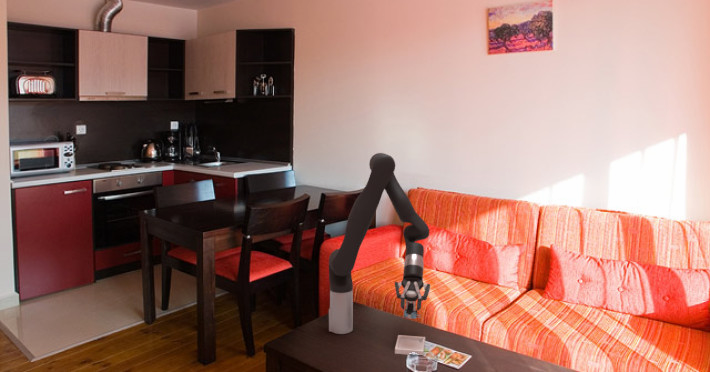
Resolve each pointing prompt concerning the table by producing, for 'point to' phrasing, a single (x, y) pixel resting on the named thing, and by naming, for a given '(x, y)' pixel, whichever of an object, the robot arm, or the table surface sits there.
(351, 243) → the robot arm
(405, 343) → the white button tray
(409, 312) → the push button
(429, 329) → the table surface
